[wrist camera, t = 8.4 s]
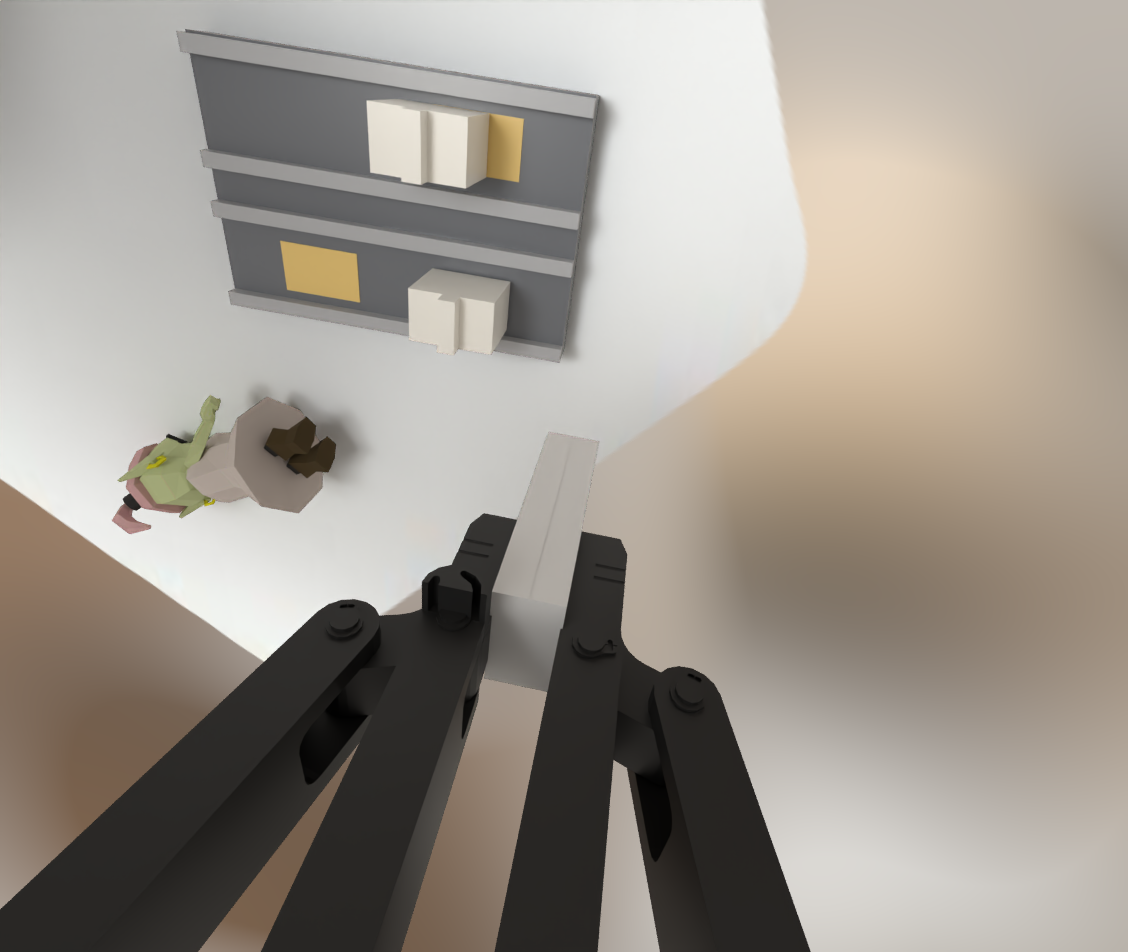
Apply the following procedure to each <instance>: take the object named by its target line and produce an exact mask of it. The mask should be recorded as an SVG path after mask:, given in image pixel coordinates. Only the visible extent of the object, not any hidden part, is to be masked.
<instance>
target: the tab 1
mask: <svg viewBox="0 0 1128 952" xmlns="http://www.w3.org/2000/svg"><path fill="white" fill-rule="evenodd" d="M367 120H368V139H369V157H370V173H376V174H382V175H388V176H394V177H400V178H401V182H407V183H413V184H419V185H422V184H424V183H427V182H430V183H436V184H442V185H448V186H453V187H459V188H465V189H466V188H468V187H470V186H471V185H473V184H475V183H477V182H479V181H481V180H482V179H484V178H486V173H487V153H488V133H489V113H483V112H477V111H471V110H465V109H459V108H452V107H446V106H440V105H434V104H428V103H422V102H416V101H410V100H404V99H386V100H367Z"/></svg>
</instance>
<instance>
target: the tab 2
mask: <svg viewBox="0 0 1128 952" xmlns="http://www.w3.org/2000/svg"><path fill="white" fill-rule="evenodd" d="M509 294H510V281H504V280H498V279H492V278H486V277H481V276H475V275H469V274H463V273H458V272H452V271H446V270H440V269H434V268H432V269H431V270H430V271H428V272H427V273H426V274H425V275H424V276H422V277H421V278H420V279H419V280H417V281H416V282H415V283H414V284H413V285H411V286H410V287H409V288H408V306H409V340H410V341H416V342H421V343H427V344H433V345H437V353H442V354H448V355H454V354H455V353H456V352H457V350H458V349H461V350H466V351H472V352H478V353H483V354H489V355H492V353H493V351H494V350H495V348H496V346H497V345H498V343H499V341H500V340H501V338H502V336H503V335H504V333H505V332H506V330H507V320H508V307H509Z"/></svg>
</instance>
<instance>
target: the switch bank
mask: <svg viewBox="0 0 1128 952" xmlns="http://www.w3.org/2000/svg"><path fill="white" fill-rule="evenodd" d="M185 30H186V32H180V31H176V32H177V37H178V42H179V47H180V51H181V52H187V53H190V56H191V62H192V67H193V72H194V77H195V82H196V88H197V93H198V98H199V103H200V108H201V114H202V119H203V124H204V129H205V134H206V140H207V145H208V149H204V150H200V152H201V157H202V162H203V167H208V168H212V171H213V176H214V181H215V186H216V192H217V197H218V199H216V200H212V201H210V202H211V207H212V212H213V216H214V217H220V218H222V223H223V228H224V233H225V239H226V244H227V249H228V254H229V259H230V265H231V270H232V275H233V280H234V285H235V289H233V290H231V291H228V292H229V297H230V302H231V305H237V306H242V307H248V308H254V309H259V310H265V311H271V312H276V313H282V314H288V315H293V316H299V317H304V318H310V319H316V320H321V321H327V322H333V323H338V324H344V325H350V326H355V327H361V328H367V329H372V330H378V331H383V332H389V333H395V334H400V335H406V336H409V306H408V288H409V287H410V286H411V285H413V284H414V283H415V282H416V281H417V280H419V279H420V278H421V277H422V276H424V275H425V274H426V273H427V272H428V271H430V270H431V269H432V268H434V269H440V270H446V271H452V272H458V273H463V274H469V275H475V276H481V277H486V278H492V279H498V280H504V281H510V294H509V307H508V320H507V330H506V332H505V333H504V335H503V336H502V338H501V340H500V341H499V343H498V345H497V346H496V348H495V350H494V351H496V352H502V353H508V354H513V355H519V356H525V357H530V358H536V359H541V360H547V361H553V362H558V363H559V362H560V360H561V357H562V354H563V351H564V346H565V339H566V332H567V325H568V317H569V310H570V303H571V296H572V289H573V282H574V274H575V267H576V260H577V253H578V246H579V238H580V231H581V224H582V217H583V210H584V203H585V195H586V188H587V181H588V174H589V167H590V159H591V152H592V145H593V138H594V131H595V123H596V116H597V109H598V102H599V95H595V94H589V93H582V92H576V91H570V90H564V89H558V88H551V87H545V86H539V85H533V84H527V83H520V82H514V81H508V80H502V79H496V78H489V77H483V76H477V75H471V74H465V73H458V72H452V71H446V70H440V69H434V68H428V67H421V66H415V65H409V64H403V63H397V62H390V61H384V60H378V59H372V58H366V57H359V56H353V55H347V54H341V53H335V52H328V51H322V50H316V49H310V48H304V47H297V46H291V45H285V44H279V43H273V42H266V41H260V40H254V39H248V38H242V37H235V36H229V35H223V34H217V33H211V32H203V31H195V30H187V29H185ZM386 99H404V100H410V101H416V102H422V103H428V104H434V105H440V106H446V107H452V108H459V109H465V110H471V111H477V112H483V113H489V133H488V153H487V173H486V178H484V179H482V180H481V181H479V182H477V183H475V184H473V185H471V186H470V187H468V188H466V189H465V188H459V187H453V186H448V185H442V184H436V183H430V182H427V183H424V184H422V185H419V184H413V183H407V182H401V178H400V177H394V176H388V175H382V174H376V173H370V157H369V139H368V120H367V100H386Z"/></svg>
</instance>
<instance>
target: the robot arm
mask: <svg viewBox="0 0 1128 952" xmlns="http://www.w3.org/2000/svg"><path fill="white" fill-rule="evenodd" d="M598 445H599V441H594V440H589V439H584V438H579V437H573V436H568V435H563V434H558V433H553V432H548V434H547V437H546V440H545V443H544V446H543V448H542V451H541V454H540V457H539V460H538V463H537V465H536V468H535V471H534V474H533V477H532V480H531V482H530V485H529V488H528V491H527V494H526V496H525V499H524V502H523V505H522V508H521V511H520V513H519V516H518V519H517V520H515V519H510V518H505V517H500V516H495V515H490V514H485V513H484V514H482V515H481V516H480V517H479V518H477V519H476V520H475V521H474V522H472V523H471V524H470V526H469V528H468V530H467V533H466V535H465V537H464V540H463V541H462V543H461V546H460V548H459V551H458V552H457V554H456V556H455V559H454V561H453V563H452V565H449V566H445V567H440V568H438V569H436V570H434V571H432V572H430V573H429V574H428V575H427V576H426V577H425V579H424V580H423V581H422V609H420V610H418V611H415V612H412V613H407V614H400V615H384V616H379V615H378V613H377V611H376V609H375V608H374V607H373V606H371V605H370V604H368V603H367V602H364V601H359V600H355V599H352V600H340V601H337V602H334V603H331V604H328V605H327V606H325V607H324V608H322V609H321V610H319V611H318V612H317V613H316V614H315V615H314V616H312V617H311V618H310V619H309V620H308V621H307V622H306V623H305V624H304V625H303V626H302V627H301V628H300V629H299V630H298V631H296V632H295V633H294V634H293V635H292V636H291V637H290V638H289V639H288V640H287V641H286V642H285V643H284V644H283V645H282V646H280V647H279V648H278V649H277V650H276V651H275V652H274V653H273V654H272V655H271V656H270V657H269V658H268V659H267V660H266V661H264V662H263V664H261V665H260V666H259V667H258V668H257V669H256V670H255V671H254V672H253V673H252V674H251V675H250V676H249V677H247V678H246V679H245V680H244V681H243V682H242V683H241V684H240V685H239V686H238V687H237V688H236V689H235V690H234V691H233V692H232V693H230V694H229V695H228V696H227V697H226V698H225V699H224V700H223V701H222V702H221V703H220V704H219V705H218V706H217V707H216V708H214V710H212V711H211V712H210V713H209V714H208V715H207V716H206V717H205V718H204V719H203V720H202V721H201V722H199V723H198V724H197V726H195V727H194V728H193V729H192V730H191V731H190V732H189V733H188V734H187V735H186V736H185V737H184V738H182V739H181V740H180V741H179V742H178V743H177V744H176V745H175V746H174V747H173V748H172V749H171V750H170V751H169V752H168V753H166V754H165V755H164V756H163V757H162V758H161V759H160V760H159V761H158V762H157V763H156V764H155V765H154V766H153V767H152V768H151V769H149V770H148V771H147V772H146V773H145V774H144V775H143V776H142V777H141V778H140V779H139V780H138V781H137V782H136V783H134V784H133V785H132V786H131V787H130V788H129V789H128V790H127V791H126V792H125V793H124V794H123V795H122V796H121V797H120V798H119V799H118V800H116V801H115V802H114V803H113V804H112V805H111V806H110V807H109V808H108V809H107V810H106V811H105V812H104V813H103V814H101V815H100V816H99V817H98V818H97V819H96V820H95V821H94V822H93V823H92V824H91V825H90V826H89V827H88V828H87V829H86V830H84V831H83V832H82V833H81V834H80V835H79V836H78V837H77V838H76V839H75V840H74V841H73V842H72V843H71V844H70V845H68V846H67V847H66V848H65V849H64V850H63V851H62V852H61V853H60V854H59V855H58V856H57V857H56V858H55V859H54V860H52V861H51V862H50V863H49V864H48V865H47V866H46V867H45V868H44V869H43V870H42V871H41V872H40V873H39V874H38V875H36V877H34V878H33V879H32V880H31V881H30V882H29V883H28V884H27V885H26V886H25V887H24V888H23V889H22V890H21V891H19V892H18V893H17V894H16V895H15V896H14V897H13V898H12V899H11V900H10V901H9V902H8V903H7V904H6V905H5V906H3V907H2V908H1V909H0V952H198V951H199V950H200V948H201V947H202V946H203V944H204V943H205V942H206V941H207V939H208V938H209V937H210V935H211V934H212V933H213V931H214V930H215V929H216V928H217V926H218V925H219V924H220V922H221V921H222V920H223V919H224V917H225V916H226V915H227V913H228V912H229V911H230V909H231V908H232V907H233V906H234V904H235V903H236V902H237V900H238V899H239V898H240V897H241V895H242V894H243V893H244V891H245V890H246V889H247V887H248V886H249V885H250V884H251V882H252V881H253V880H254V878H255V877H256V876H257V874H258V873H259V872H260V871H261V869H262V868H263V866H265V864H266V863H267V862H268V860H269V859H270V858H271V856H272V855H273V854H274V852H275V851H276V850H277V849H278V847H279V846H280V845H281V843H282V842H283V841H284V840H285V838H286V837H287V836H288V834H289V833H290V832H291V831H292V829H293V828H294V827H295V825H296V824H297V823H298V821H299V820H300V819H301V818H302V816H303V815H304V814H305V812H306V811H307V810H308V808H309V807H310V806H311V805H312V803H313V802H314V801H315V799H316V798H317V797H318V795H319V794H320V793H321V792H322V790H323V789H324V788H325V786H326V785H327V784H328V783H329V781H330V780H331V779H332V777H333V776H334V775H335V773H336V772H337V771H338V770H339V768H340V767H341V766H342V764H343V763H344V762H345V760H346V759H347V758H348V757H349V755H350V754H351V753H352V751H353V750H354V749H355V748H356V746H357V745H358V744H359V745H358V747H357V749H356V751H355V754H354V756H353V758H352V760H351V762H350V764H349V766H348V769H347V770H346V773H345V775H344V777H343V779H342V782H341V783H340V786H339V787H338V790H337V792H336V794H335V796H334V798H333V800H332V802H331V804H330V807H329V809H328V811H327V813H326V815H325V817H324V819H323V821H322V824H321V826H320V828H319V830H318V832H317V834H316V836H315V838H314V840H313V843H312V845H311V847H310V849H309V851H308V853H307V855H306V857H305V859H304V862H303V864H302V866H301V868H300V870H299V872H298V874H297V876H296V879H295V881H294V883H293V885H292V887H291V889H290V891H289V893H288V895H287V898H286V900H285V902H284V904H283V906H282V908H281V910H280V912H279V915H278V917H277V919H276V921H275V923H274V925H273V927H272V929H271V932H270V934H269V936H268V938H267V940H266V942H265V944H264V947H263V949H262V951H261V952H401V950H402V947H403V943H404V940H405V937H406V934H407V930H408V927H409V924H410V920H411V917H412V914H413V911H414V908H415V904H416V901H417V898H418V895H419V891H420V888H421V885H422V882H423V878H424V875H425V872H426V869H427V865H428V862H429V859H430V856H431V853H432V849H433V846H434V843H435V839H436V836H437V833H438V830H439V826H440V823H441V820H442V816H443V814H444V810H445V807H446V804H447V801H448V797H449V794H450V791H451V788H452V784H453V781H454V778H455V774H456V771H457V768H458V765H459V762H460V758H461V755H462V752H463V749H464V746H465V742H466V739H467V736H468V732H469V729H470V726H471V723H472V719H473V716H474V713H475V710H476V707H477V703H478V697H479V686H480V683H481V680H482V677H483V674H484V671H485V675H484V678H485V679H489V680H495V681H499V682H504V683H508V684H513V685H517V686H522V687H527V688H532V689H536V690H541V691H546V692H547V697H546V702H545V707H544V711H543V716H542V721H541V726H540V731H539V736H538V741H537V746H536V751H535V756H534V760H533V765H532V770H531V775H530V780H529V785H528V790H527V795H526V800H525V805H524V810H523V815H522V820H521V825H520V829H519V834H518V839H517V844H516V849H515V854H514V859H513V864H512V869H511V874H510V879H509V884H508V888H507V893H506V898H505V903H504V908H503V913H502V918H501V923H500V928H499V932H498V938H497V943H496V947H495V952H597V951H598V939H599V926H600V914H601V903H602V891H603V878H604V867H605V855H606V843H607V830H608V819H609V806H610V805H609V804H610V793H611V782H612V770H613V760H615V761H616V762H618V763H620V764H622V765H623V766H625V767H627V771H628V777H629V782H630V788H631V793H632V799H633V804H634V810H635V815H636V821H637V826H638V832H639V837H640V843H641V849H642V854H643V860H644V865H645V871H646V876H647V882H648V888H649V893H650V899H651V904H652V909H653V915H654V921H655V927H656V932H657V938H658V943H659V949H660V952H810V949H809V946H808V943H807V940H806V938H805V935H804V932H803V929H802V926H801V923H800V920H799V917H798V915H797V912H796V909H795V906H794V904H793V900H792V897H791V894H790V892H789V889H788V886H787V883H786V880H785V877H784V875H783V872H782V869H781V866H780V863H779V860H778V857H777V855H776V852H775V849H774V846H773V843H772V840H771V838H770V835H769V832H768V829H767V826H766V823H765V820H764V818H763V815H762V812H761V809H760V806H759V803H758V800H757V798H756V795H755V792H754V789H753V786H752V783H751V781H750V778H749V775H748V772H747V769H746V767H745V764H744V761H743V758H742V755H741V752H740V750H739V746H738V744H737V741H736V738H735V735H734V732H733V729H732V727H731V724H730V721H729V718H728V715H727V712H726V709H725V707H724V704H723V701H722V698H721V695H720V693H719V692H718V690H717V688H716V687H715V685H714V683H712V682H711V681H710V680H709V679H708V678H707V677H706V676H705V675H704V674H702V673H700V672H698V671H696V670H694V669H691V668H686V667H680V666H678V667H672V668H667V669H666V670H664V671H663V672H659V671H657V670H655V669H653V668H651V667H649V666H647V665H645V664H644V663H642V662H641V661H639V660H637V659H636V658H635V657H634V656H633V655H632V654H631V653H630V652H629V651H628V649H627V648H626V646H625V645H624V642H623V640H622V637H621V621H622V609H623V597H624V586H625V585H624V584H625V575H626V563H627V553H626V551H625V548H624V546H623V544H622V542H621V540H620V539H617V538H612V537H607V536H602V535H596V534H591V533H586V532H582V527H583V522H584V517H585V511H586V506H587V501H588V496H589V491H590V486H591V481H592V476H593V471H594V465H595V460H596V455H597V450H598ZM359 742H360V743H359Z"/></svg>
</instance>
